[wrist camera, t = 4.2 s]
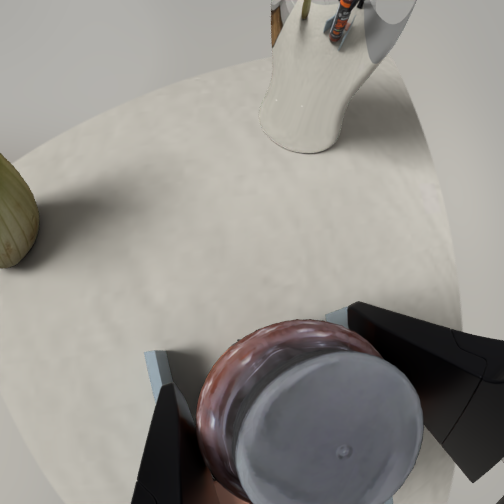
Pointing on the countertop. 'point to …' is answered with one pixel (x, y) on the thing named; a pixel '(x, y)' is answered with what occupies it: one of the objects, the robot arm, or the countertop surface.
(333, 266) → the countertop surface
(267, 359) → the supplement bottle
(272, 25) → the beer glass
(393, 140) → the countertop surface
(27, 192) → the fennel bulb
